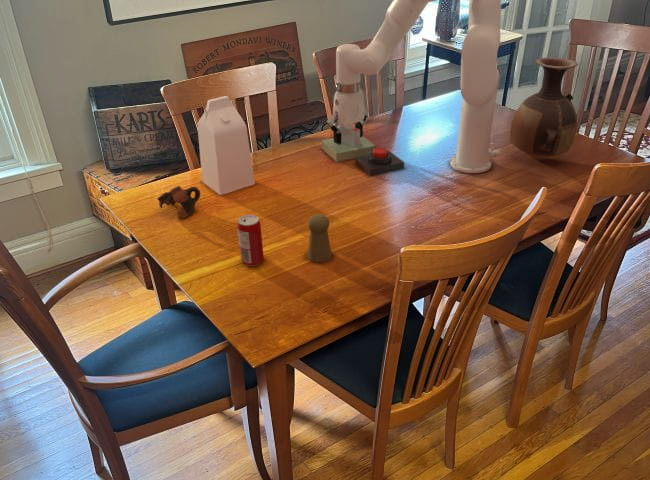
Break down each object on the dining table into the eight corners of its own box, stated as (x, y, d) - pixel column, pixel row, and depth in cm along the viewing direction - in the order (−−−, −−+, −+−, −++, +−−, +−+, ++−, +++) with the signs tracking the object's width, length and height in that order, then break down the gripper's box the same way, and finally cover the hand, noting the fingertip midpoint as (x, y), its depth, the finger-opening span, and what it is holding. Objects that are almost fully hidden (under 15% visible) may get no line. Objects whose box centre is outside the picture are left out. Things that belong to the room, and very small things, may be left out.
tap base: (337, 162, 199) (337, 153, 197) (321, 148, 209) (320, 139, 207) (375, 154, 203) (376, 145, 201) (358, 140, 213) (358, 132, 211)
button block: (388, 157, 201) (389, 145, 199) (404, 168, 194) (404, 156, 192) (355, 163, 198) (356, 152, 195) (370, 176, 190) (370, 164, 188)
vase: (558, 178, 186) (581, 77, 168) (495, 165, 194) (511, 67, 176) (577, 151, 201) (600, 56, 183) (518, 140, 210) (535, 48, 192)
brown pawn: (306, 250, 157) (305, 212, 150) (330, 248, 157) (329, 210, 151) (308, 263, 152) (306, 224, 146) (332, 261, 153) (332, 222, 146)
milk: (236, 171, 196) (226, 89, 180) (255, 184, 188) (246, 99, 172) (202, 181, 190) (189, 97, 175) (220, 195, 183) (208, 109, 167)
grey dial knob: (336, 139, 206) (336, 123, 203) (342, 137, 207) (342, 121, 204) (354, 147, 201) (354, 130, 197) (359, 145, 202) (360, 129, 198)
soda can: (266, 255, 155) (262, 213, 148) (261, 267, 151) (256, 225, 144) (244, 254, 156) (240, 212, 149) (239, 266, 152) (233, 223, 145)
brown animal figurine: (174, 225, 170) (157, 199, 167) (167, 225, 179) (152, 200, 176) (210, 202, 173) (194, 176, 171) (202, 203, 182) (187, 179, 179)
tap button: (383, 151, 196) (383, 146, 195) (389, 157, 193) (389, 151, 192) (370, 154, 195) (370, 149, 194) (377, 159, 191) (377, 154, 190)
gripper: (334, 96, 186) (335, 150, 197) (377, 83, 195) (375, 136, 205) (319, 90, 191) (320, 143, 202) (361, 78, 200) (360, 129, 210)
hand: (348, 139), depth 203 cm, fingers open, 8 cm apart
